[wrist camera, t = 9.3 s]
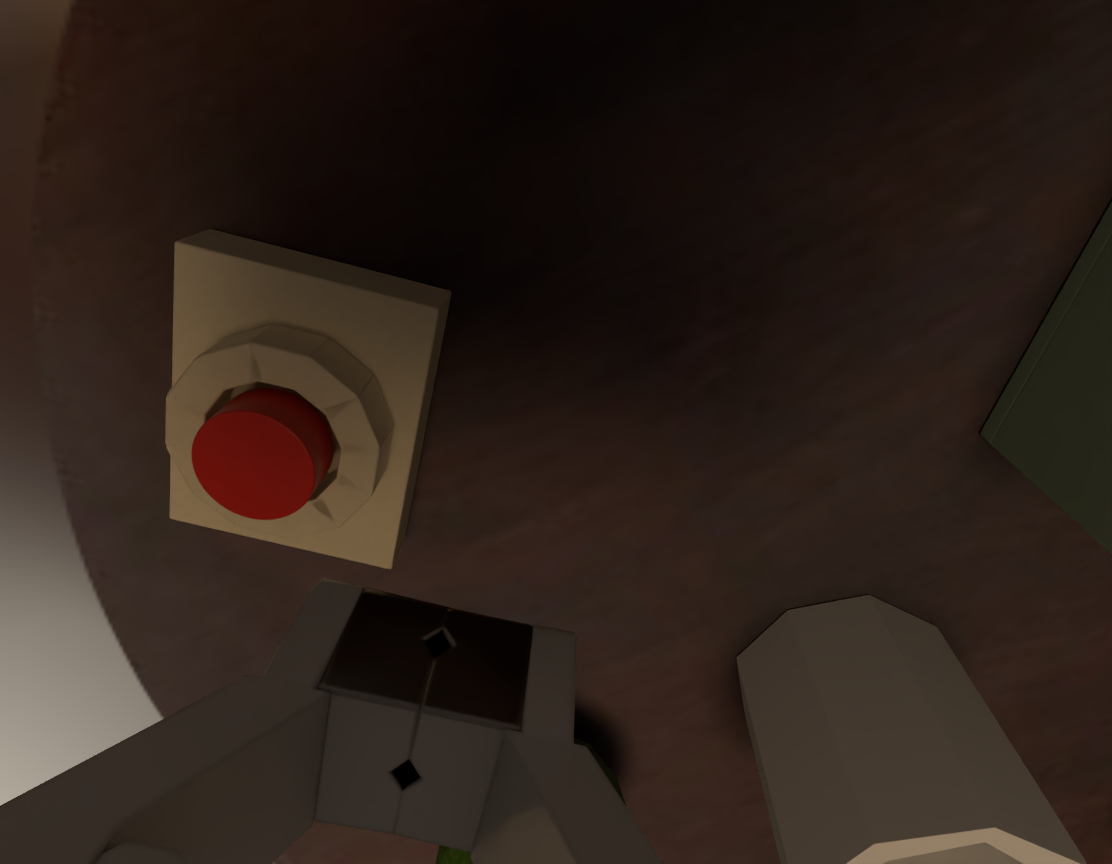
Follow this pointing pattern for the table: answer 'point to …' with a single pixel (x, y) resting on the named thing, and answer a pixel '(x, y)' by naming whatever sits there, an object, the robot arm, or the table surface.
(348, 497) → the button block
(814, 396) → the table surface
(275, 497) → the button
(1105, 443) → the cabinet
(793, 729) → the mug
